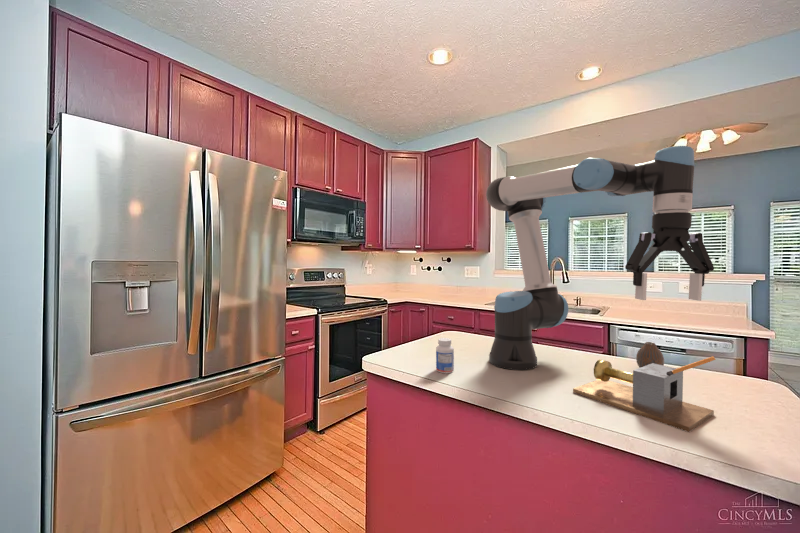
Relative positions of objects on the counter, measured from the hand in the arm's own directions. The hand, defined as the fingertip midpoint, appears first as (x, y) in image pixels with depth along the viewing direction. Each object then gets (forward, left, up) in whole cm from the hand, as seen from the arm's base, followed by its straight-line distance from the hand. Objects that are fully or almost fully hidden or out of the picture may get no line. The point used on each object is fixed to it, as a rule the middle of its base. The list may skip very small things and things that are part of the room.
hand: (667, 299), depth 84 cm
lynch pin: (-6, -9, -21) cm, 24 cm away
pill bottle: (-45, -33, -25) cm, 61 cm away
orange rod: (+8, -9, -13) cm, 18 cm away
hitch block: (-2, -9, -24) cm, 26 cm away
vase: (-11, +20, -25) cm, 34 cm away
